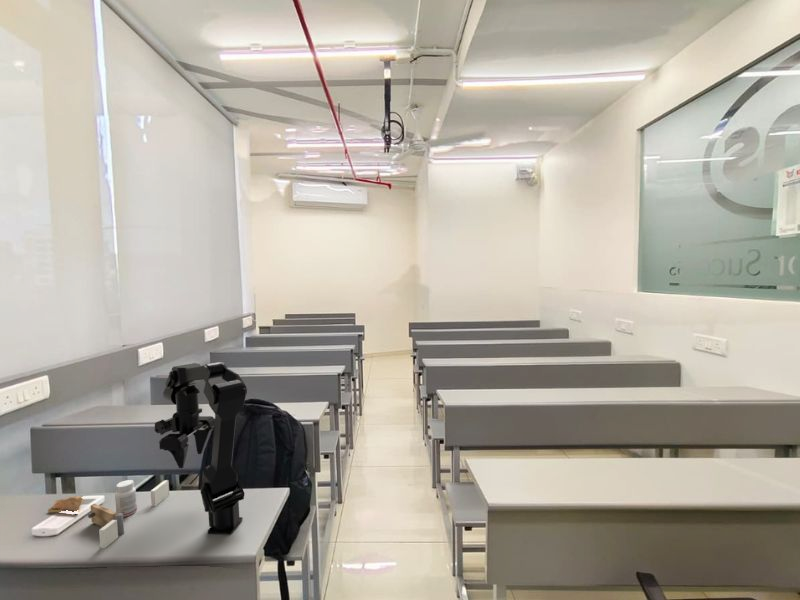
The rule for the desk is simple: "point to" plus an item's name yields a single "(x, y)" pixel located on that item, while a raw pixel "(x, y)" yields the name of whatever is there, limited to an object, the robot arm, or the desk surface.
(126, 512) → the pill bottle
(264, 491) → the desk surface
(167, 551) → the desk surface
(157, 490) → the pair of white blocks
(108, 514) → the wooden plank
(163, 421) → the robot arm
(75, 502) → the shard
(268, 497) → the desk surface
